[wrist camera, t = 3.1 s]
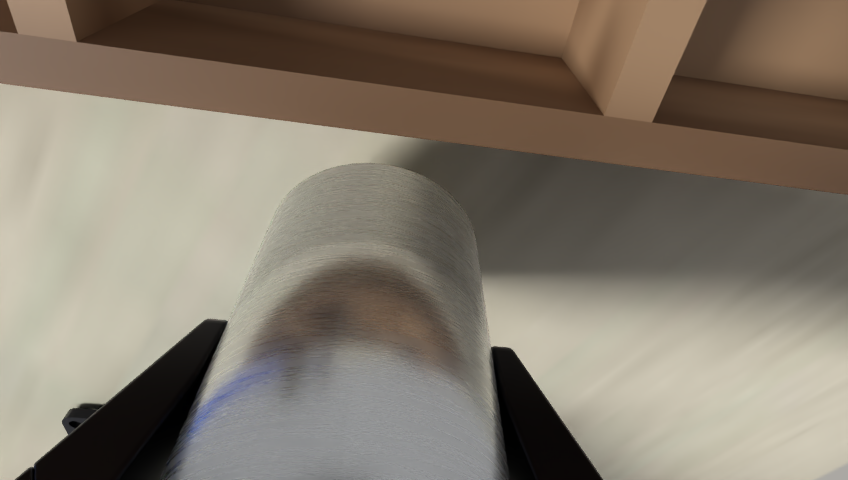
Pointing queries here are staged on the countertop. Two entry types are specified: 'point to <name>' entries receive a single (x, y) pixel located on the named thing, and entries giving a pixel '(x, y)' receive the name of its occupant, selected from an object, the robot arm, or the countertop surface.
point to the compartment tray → (480, 73)
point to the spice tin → (353, 344)
